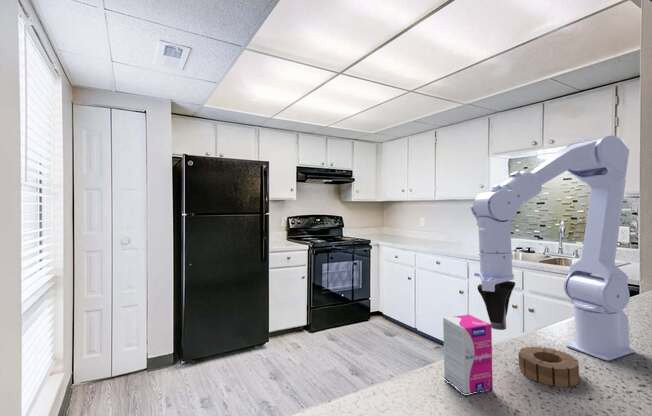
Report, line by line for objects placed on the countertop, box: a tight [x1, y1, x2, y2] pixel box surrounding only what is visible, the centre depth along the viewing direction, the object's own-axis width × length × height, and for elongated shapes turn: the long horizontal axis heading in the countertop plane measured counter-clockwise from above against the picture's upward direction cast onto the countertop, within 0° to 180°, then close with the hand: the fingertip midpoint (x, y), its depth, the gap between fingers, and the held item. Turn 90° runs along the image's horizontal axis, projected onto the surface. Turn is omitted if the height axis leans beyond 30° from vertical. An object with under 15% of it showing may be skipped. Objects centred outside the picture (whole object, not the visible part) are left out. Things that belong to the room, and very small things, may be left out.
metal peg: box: [489, 309, 507, 331], centre depth 65 cm, size 3×3×6 cm
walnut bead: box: [518, 346, 580, 388], centre depth 60 cm, size 9×9×3 cm
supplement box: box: [442, 314, 494, 394], centre depth 57 cm, size 6×6×12 cm
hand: (498, 319), depth 65 cm, fingers closed on metal peg, 3 cm apart
